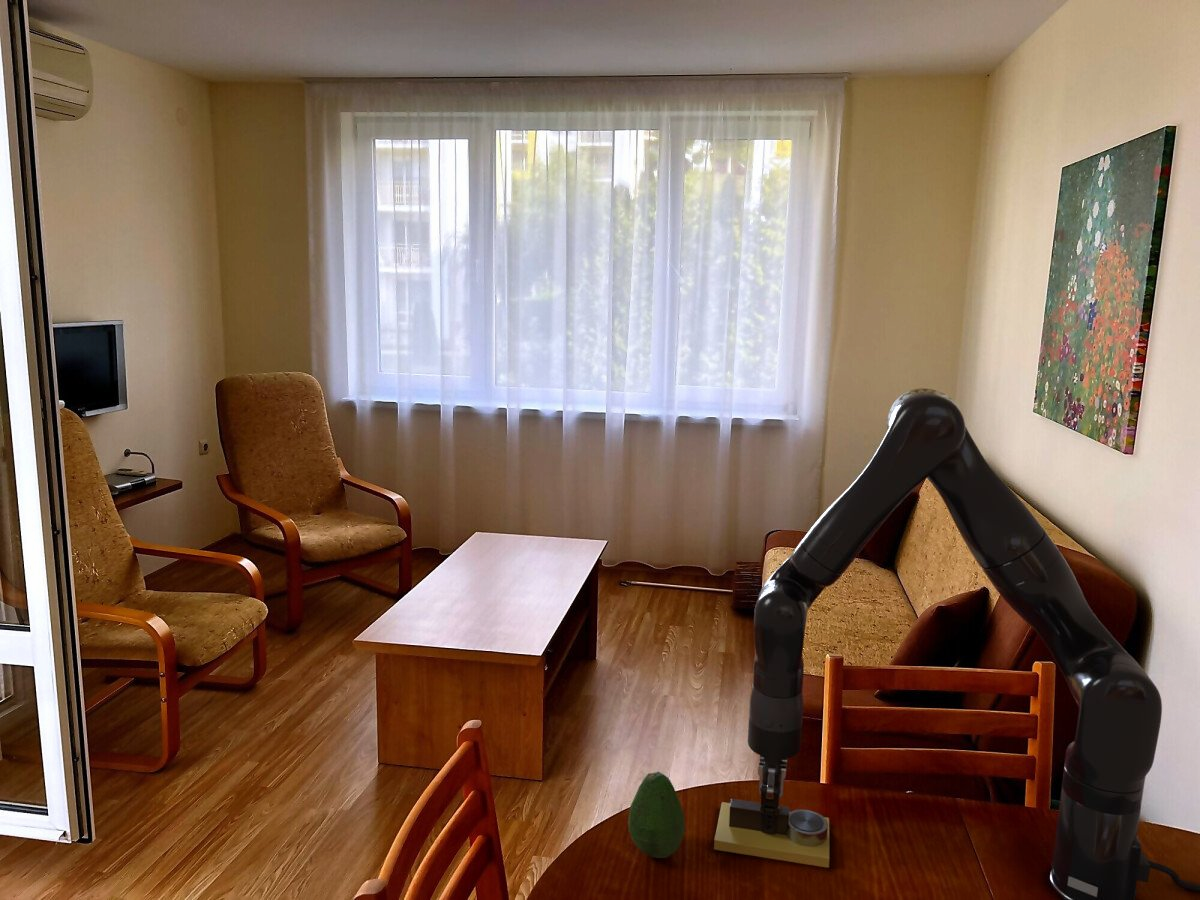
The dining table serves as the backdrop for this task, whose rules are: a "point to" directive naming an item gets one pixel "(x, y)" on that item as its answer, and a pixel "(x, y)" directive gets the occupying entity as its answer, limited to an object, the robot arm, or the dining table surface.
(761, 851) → the board
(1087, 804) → the robot arm
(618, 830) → the dining table surface
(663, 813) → the avocado
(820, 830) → the frying pan
